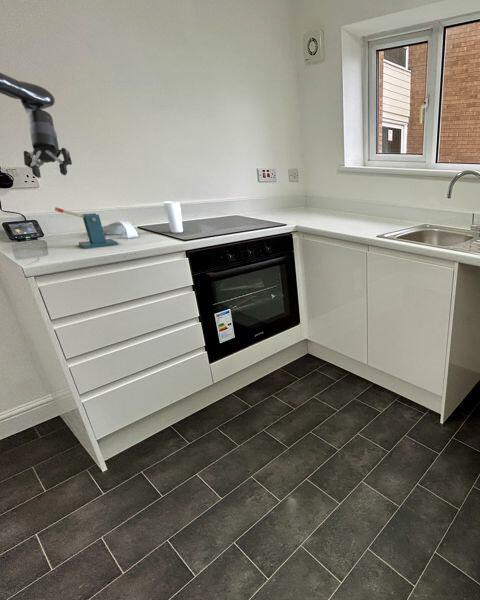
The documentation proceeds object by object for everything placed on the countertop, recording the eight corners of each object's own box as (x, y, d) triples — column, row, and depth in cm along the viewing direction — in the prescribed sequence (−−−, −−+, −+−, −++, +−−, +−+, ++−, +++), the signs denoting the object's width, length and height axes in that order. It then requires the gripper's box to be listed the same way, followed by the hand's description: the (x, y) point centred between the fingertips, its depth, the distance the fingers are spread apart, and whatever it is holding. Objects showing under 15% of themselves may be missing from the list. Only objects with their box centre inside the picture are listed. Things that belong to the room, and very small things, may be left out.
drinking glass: (183, 230, 184) (178, 201, 178) (186, 232, 179) (180, 202, 174) (168, 231, 180) (162, 201, 174) (170, 234, 175) (164, 203, 170)
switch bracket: (85, 248, 142) (76, 216, 138) (79, 245, 147) (69, 214, 143) (118, 244, 151) (110, 214, 146) (110, 241, 156) (103, 212, 151)
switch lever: (58, 213, 135) (59, 207, 134) (54, 211, 138) (55, 205, 138) (97, 223, 145) (98, 218, 145) (92, 221, 148) (94, 216, 148)
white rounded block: (94, 233, 169) (90, 218, 166) (122, 230, 179) (118, 216, 176) (119, 240, 159) (115, 224, 156) (147, 236, 168) (144, 221, 166)
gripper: (14, 133, 134) (21, 173, 133) (58, 130, 138) (65, 169, 136) (30, 144, 141) (36, 182, 140) (71, 140, 145) (78, 177, 144)
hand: (50, 175), depth 138 cm, fingers open, 8 cm apart
